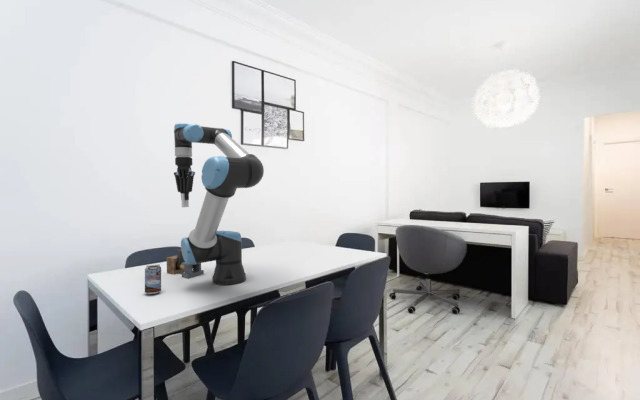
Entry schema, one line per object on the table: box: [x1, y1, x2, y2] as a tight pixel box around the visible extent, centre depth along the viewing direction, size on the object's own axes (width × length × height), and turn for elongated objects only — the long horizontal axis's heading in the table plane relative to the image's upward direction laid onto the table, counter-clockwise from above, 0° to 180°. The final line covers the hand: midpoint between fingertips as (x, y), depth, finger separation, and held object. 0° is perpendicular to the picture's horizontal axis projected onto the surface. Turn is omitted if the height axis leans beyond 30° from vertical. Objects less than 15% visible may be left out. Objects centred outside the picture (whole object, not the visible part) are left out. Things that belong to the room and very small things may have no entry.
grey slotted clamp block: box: [181, 262, 205, 280], centre depth 164 cm, size 5×9×7 cm, turn 148°
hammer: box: [175, 249, 193, 269], centre depth 167 cm, size 12×4×10 cm, turn 58°
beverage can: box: [144, 263, 162, 295], centre depth 137 cm, size 6×7×12 cm
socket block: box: [165, 255, 184, 275], centre depth 171 cm, size 6×6×8 cm
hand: (185, 207), depth 157 cm, fingers closed
